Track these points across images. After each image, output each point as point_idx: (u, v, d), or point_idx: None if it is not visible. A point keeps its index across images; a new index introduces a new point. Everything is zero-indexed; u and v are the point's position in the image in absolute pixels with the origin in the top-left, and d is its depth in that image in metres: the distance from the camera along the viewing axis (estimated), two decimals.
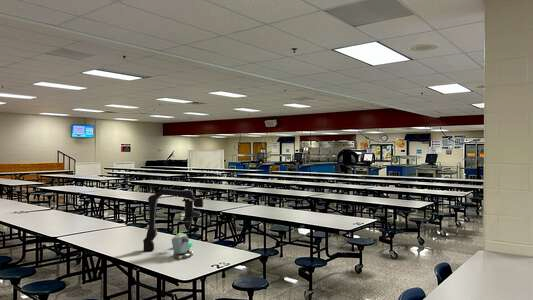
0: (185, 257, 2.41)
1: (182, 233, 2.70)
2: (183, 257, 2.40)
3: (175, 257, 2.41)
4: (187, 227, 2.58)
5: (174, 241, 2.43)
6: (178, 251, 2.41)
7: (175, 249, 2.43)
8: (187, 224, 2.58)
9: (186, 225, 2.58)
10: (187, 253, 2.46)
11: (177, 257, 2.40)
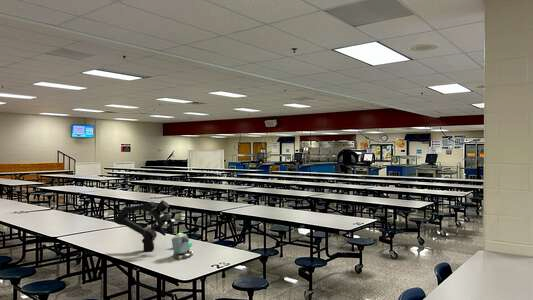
0: (185, 257, 2.41)
1: (182, 233, 2.70)
2: (183, 257, 2.40)
3: (175, 257, 2.41)
4: (162, 233, 2.50)
5: (174, 241, 2.43)
6: (178, 251, 2.41)
7: (175, 249, 2.43)
8: (160, 230, 2.50)
9: (160, 231, 2.50)
10: (187, 253, 2.46)
11: (177, 257, 2.40)
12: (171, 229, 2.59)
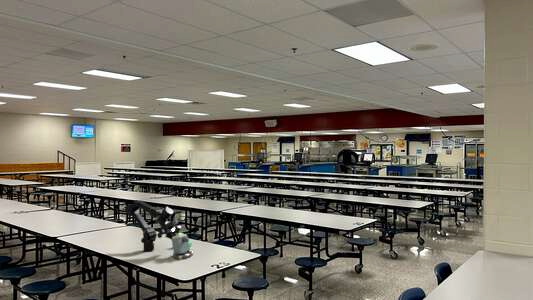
0: (185, 257, 2.41)
1: None
2: (183, 257, 2.40)
3: (175, 257, 2.41)
4: None
5: (174, 241, 2.43)
6: (178, 251, 2.41)
7: (175, 249, 2.43)
8: (171, 236, 2.49)
9: (171, 237, 2.49)
10: (187, 253, 2.46)
11: (177, 257, 2.40)
12: None
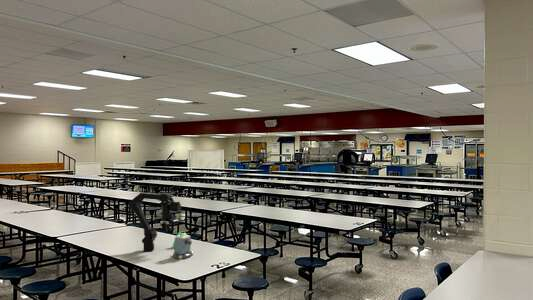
0: (185, 257, 2.41)
1: (181, 233, 2.71)
2: (183, 257, 2.40)
3: (175, 257, 2.41)
4: (167, 230, 2.57)
5: (176, 241, 2.42)
6: (179, 252, 2.41)
7: (176, 249, 2.42)
8: (167, 227, 2.57)
9: (166, 228, 2.57)
10: (187, 253, 2.46)
11: (177, 257, 2.40)
12: None
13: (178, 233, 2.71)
